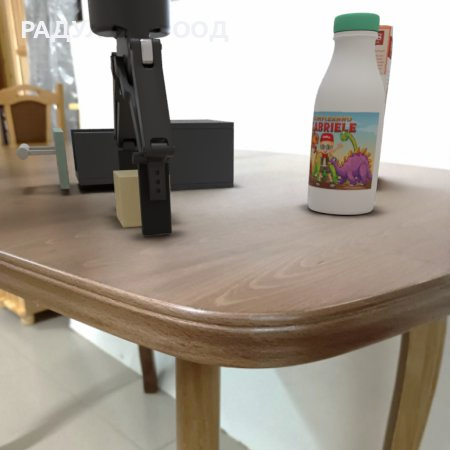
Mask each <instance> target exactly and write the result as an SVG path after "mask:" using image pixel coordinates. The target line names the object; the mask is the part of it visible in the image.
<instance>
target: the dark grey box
mask: <svg viewBox="0 0 450 450" xmlns="http://www.w3.org/2000/svg"><path fill="white" fill-rule="evenodd" d="M170 122H171V129H172V136H173V143H174V146H175V154H174V156H173V157H170V160H169V175H170V192H172V191H187V190H188V191H189V190H207V189H225V188H234V187H235V185H234V183H235V181H234V180H235V175H234V174H235V121H227V120H218V119H216V120H215V119H210V118H209V119H208V118H207V119H203V118H201V119H200V118H199V119H170ZM135 150H138V149H135Z"/></svg>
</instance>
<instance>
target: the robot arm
mask: <svg viewBox="0 0 450 450" xmlns="http://www.w3.org/2000/svg"><path fill="white" fill-rule="evenodd" d="M87 10H88V20H89V21H88V22H89V28H90V31H91V32H92V33H93V34H94V35H96V36H99V37H103V38H113V39H115V41H116V46H115V47H116V49H115V50H116V51H111V52H110V56H109V57H110V58H109V59H110V72H111V75H112V102H113V104H112V106H113V128H114V135H113V138H114V140H115V142H116V146H117V148H118V149H122V150H117V151H118V163H119V171H121V170H138V181H139V195H140V210H141V224H142V226H141V235H142V236H157V235H169V234H172V233H173V226H172V225H173V224H171V219H172V201H171V202H170V195H171V191H170V180H169V160H170V157H173V156H174V154H175V146H174V143H173V136H172V129H171V122H170V120H171V117H170V116H171V115H170V110H169V103H168V95H167V89H166V81H165V76H164V75H165V74H164V67H163V53H162V50H163V44H162V42H161V41H162V40H161V38H166V37H168V36H169V35H171V33H172V31H173V18H172V17H173V13H172V0H87ZM135 149H138V150H135Z"/></svg>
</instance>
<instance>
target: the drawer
mask: <svg viewBox="0 0 450 450" xmlns="http://www.w3.org/2000/svg"><path fill="white" fill-rule="evenodd" d="M64 133H65V132H64V130H63V129H62V128H61V127H52V135H53V143H54V145H50V146H46V145H45V146H44V145H43V146H30V145H29V144H28V143H21V144H20V145H19V146H18V148H17V150H16V156H17V157H18V158H19V159H20V160H27V159H28V158H29V156H55V158H56V169H57V174H58V181H59V187H60V189H61V190H70V189H71V184H70V183H71V182H70V176H69V175H70V174H69V166H68V159H67V158H68V157H67V149H66V142H65V141H66V140H65V134H64ZM113 135H114V127H111V128H70V138H71V146H72V148H71V149H72V157H73V164H74V172H75V177H76V179H77V182H78V185H79V186H89V185H90V186H91V185H110V184H111V185H114V176H113V171H119V163H118V151H117V150H122V149H118V148H117V146H116V142H115V140H114V138H113Z"/></svg>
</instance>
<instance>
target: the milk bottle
mask: <svg viewBox="0 0 450 450" xmlns="http://www.w3.org/2000/svg"><path fill="white" fill-rule="evenodd" d="M380 22H381V17H380V15H379V14H377V13H373V12H349V13H342V14H338V15H337V16H335V17H334V20H333V27H332V28H333V30H332V31H333V36H332V40H333V41H334V47H333V51H332V55H331V58H330V61H329V64H328V66H327V69H326V71H325V73H324V75H323V77H322V79H321V81H320V84H319V86H318V89H317V91H316V96H315V100H314V105H313V115H312V125H311V140H310V151H309V152H310V154H309V168H308V181H307V182H308V183H307V206H308V209H309V210H311V211H314V212H317V213H323V214H328V215H342V216H343V215H344V216H345V215H348V216H349V215H350V216H351V215H362V214H368V213H370V212H372V211H373V210H374V208H375V202H376V195H377V187H378V178H379V169H380V159H381V152H382V144H383V134H384V133H383V132H384V124H385V116H384V113H385V114H386V108H385V93H384V87H383V83H382V79H381V76H380V73H379V70H378V66H377V62H376V56H375V41H376V39H377V38H378V31H379V25H381V23H380Z"/></svg>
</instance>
